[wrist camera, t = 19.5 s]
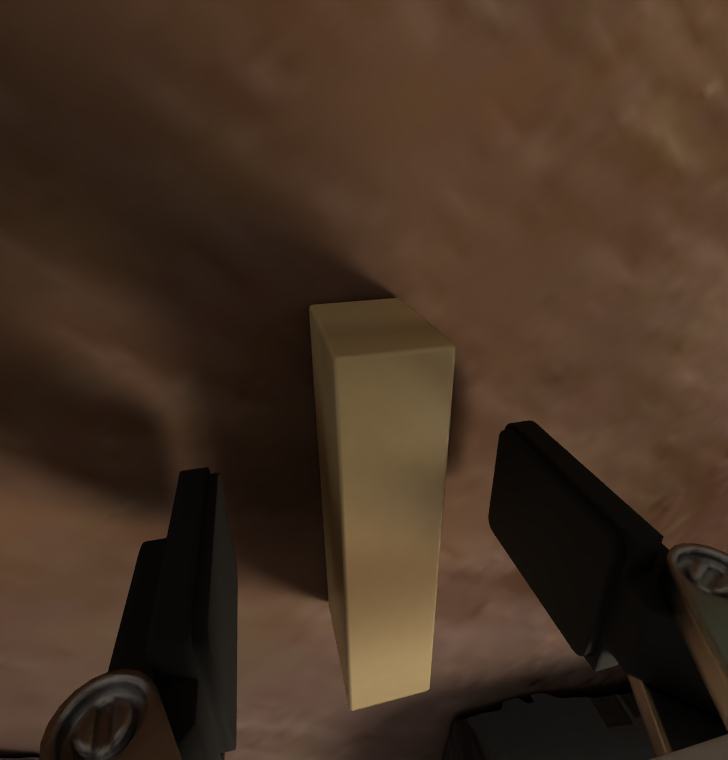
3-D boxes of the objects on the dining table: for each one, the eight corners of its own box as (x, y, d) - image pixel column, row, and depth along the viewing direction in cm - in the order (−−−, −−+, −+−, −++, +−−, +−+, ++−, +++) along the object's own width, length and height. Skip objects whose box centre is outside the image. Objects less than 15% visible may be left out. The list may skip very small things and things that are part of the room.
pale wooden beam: (307, 304, 10) (333, 358, 7) (400, 296, 10) (458, 345, 7) (328, 604, 13) (349, 713, 11) (394, 590, 14) (430, 691, 11)
